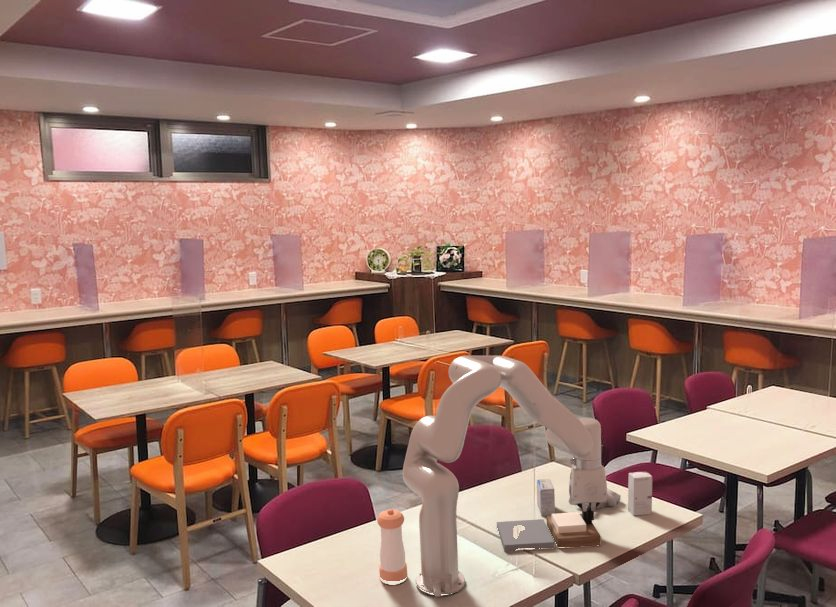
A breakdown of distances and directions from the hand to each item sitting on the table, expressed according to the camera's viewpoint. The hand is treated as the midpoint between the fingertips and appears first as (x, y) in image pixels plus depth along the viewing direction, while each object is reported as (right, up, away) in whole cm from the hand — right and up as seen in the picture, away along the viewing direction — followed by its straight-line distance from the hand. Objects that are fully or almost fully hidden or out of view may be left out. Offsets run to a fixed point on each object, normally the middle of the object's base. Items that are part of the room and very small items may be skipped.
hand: (587, 522), depth 206 cm
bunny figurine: (+8, -1, +19) cm, 20 cm away
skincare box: (+19, -1, +13) cm, 23 cm away
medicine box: (-9, -2, +17) cm, 19 cm away
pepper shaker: (-55, -9, -18) cm, 59 cm away
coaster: (-6, -1, 0) cm, 6 cm away
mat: (-18, -5, 0) cm, 19 cm away
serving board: (-4, -4, 0) cm, 6 cm away
